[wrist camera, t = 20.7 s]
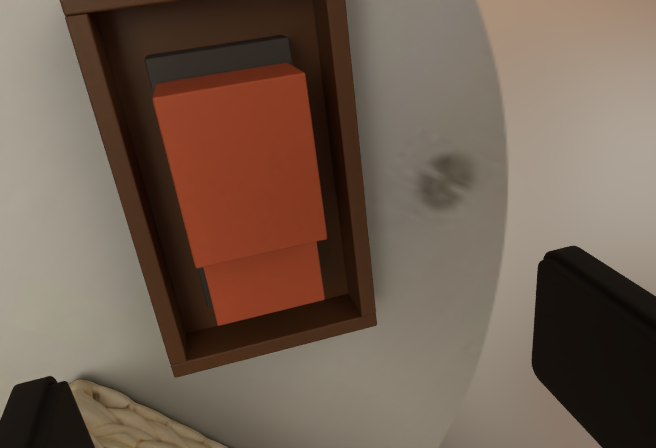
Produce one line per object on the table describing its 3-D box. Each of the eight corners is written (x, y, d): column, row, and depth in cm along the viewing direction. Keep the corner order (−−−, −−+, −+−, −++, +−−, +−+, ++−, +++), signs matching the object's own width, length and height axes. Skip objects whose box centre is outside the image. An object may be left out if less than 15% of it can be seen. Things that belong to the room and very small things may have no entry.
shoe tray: (71, -8, 22) (56, -8, 19) (322, -39, 24) (341, -44, 21) (174, 342, 29) (174, 378, 26) (359, 296, 31) (377, 325, 28)
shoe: (145, 55, 23) (138, 69, 18) (282, 34, 24) (307, 43, 20) (205, 293, 28) (211, 350, 23) (317, 267, 29) (342, 316, 25)
